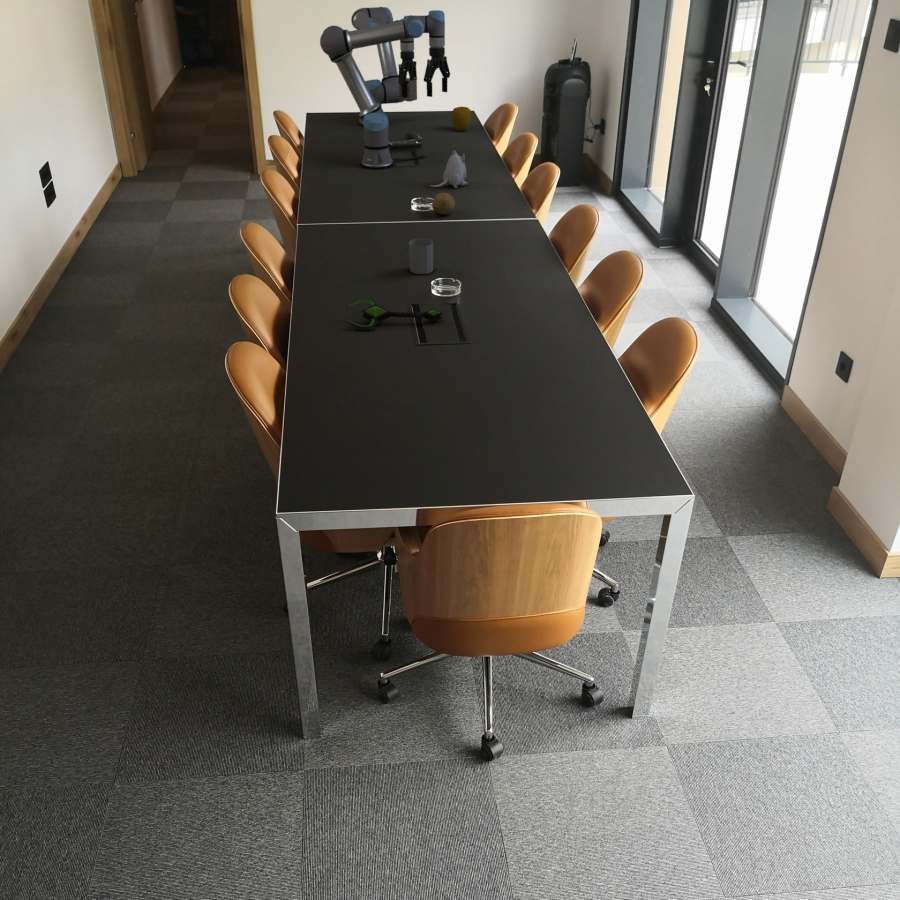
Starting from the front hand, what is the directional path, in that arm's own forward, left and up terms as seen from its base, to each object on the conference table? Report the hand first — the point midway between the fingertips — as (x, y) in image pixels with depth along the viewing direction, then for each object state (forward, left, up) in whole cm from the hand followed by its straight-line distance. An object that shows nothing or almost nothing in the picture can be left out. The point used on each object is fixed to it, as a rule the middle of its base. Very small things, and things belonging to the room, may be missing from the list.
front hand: (437, 94), depth 424 cm
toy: (+42, +35, -30) cm, 63 cm away
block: (-38, -46, -13) cm, 62 cm away
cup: (+132, +85, -30) cm, 160 cm away
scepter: (+173, +105, -30) cm, 204 cm away
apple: (-57, -23, -30) cm, 68 cm away
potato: (+74, +55, -30) cm, 97 cm away
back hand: (-38, -46, -12) cm, 61 cm away
